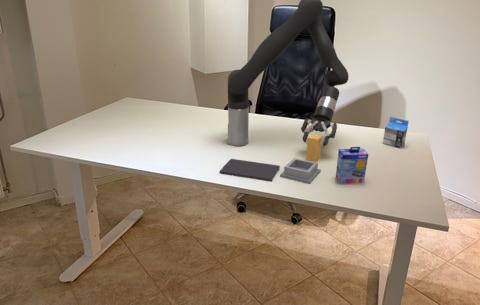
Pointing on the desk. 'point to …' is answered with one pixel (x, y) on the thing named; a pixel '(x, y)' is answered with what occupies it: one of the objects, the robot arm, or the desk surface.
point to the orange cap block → (313, 148)
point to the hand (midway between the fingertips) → (314, 143)
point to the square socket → (301, 170)
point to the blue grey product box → (395, 132)
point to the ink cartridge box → (351, 165)
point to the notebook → (250, 169)
